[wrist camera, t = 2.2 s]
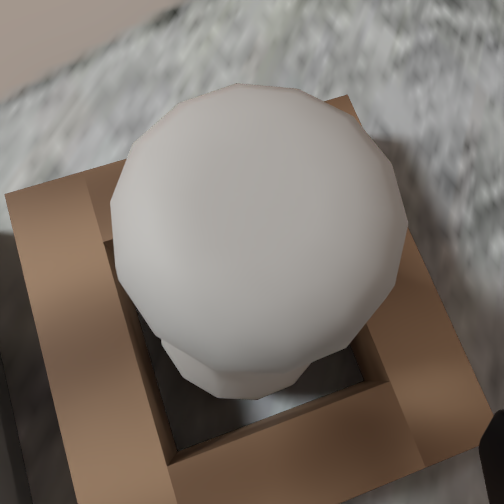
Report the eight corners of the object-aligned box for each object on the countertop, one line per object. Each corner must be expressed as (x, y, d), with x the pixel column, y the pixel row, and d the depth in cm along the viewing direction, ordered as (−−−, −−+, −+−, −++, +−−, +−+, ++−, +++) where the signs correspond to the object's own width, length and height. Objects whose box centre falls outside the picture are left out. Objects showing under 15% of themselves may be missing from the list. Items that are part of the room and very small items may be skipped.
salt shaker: (280, 230, 19) (371, -37, 7) (337, 361, 18) (578, 320, 6) (146, 281, 19) (-24, 81, 6) (197, 422, 17) (112, 533, 5)
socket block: (458, 426, 18) (503, 435, 15) (124, 561, 16) (100, 602, 13) (331, 134, 21) (347, 94, 18) (38, 222, 19) (4, 194, 16)
